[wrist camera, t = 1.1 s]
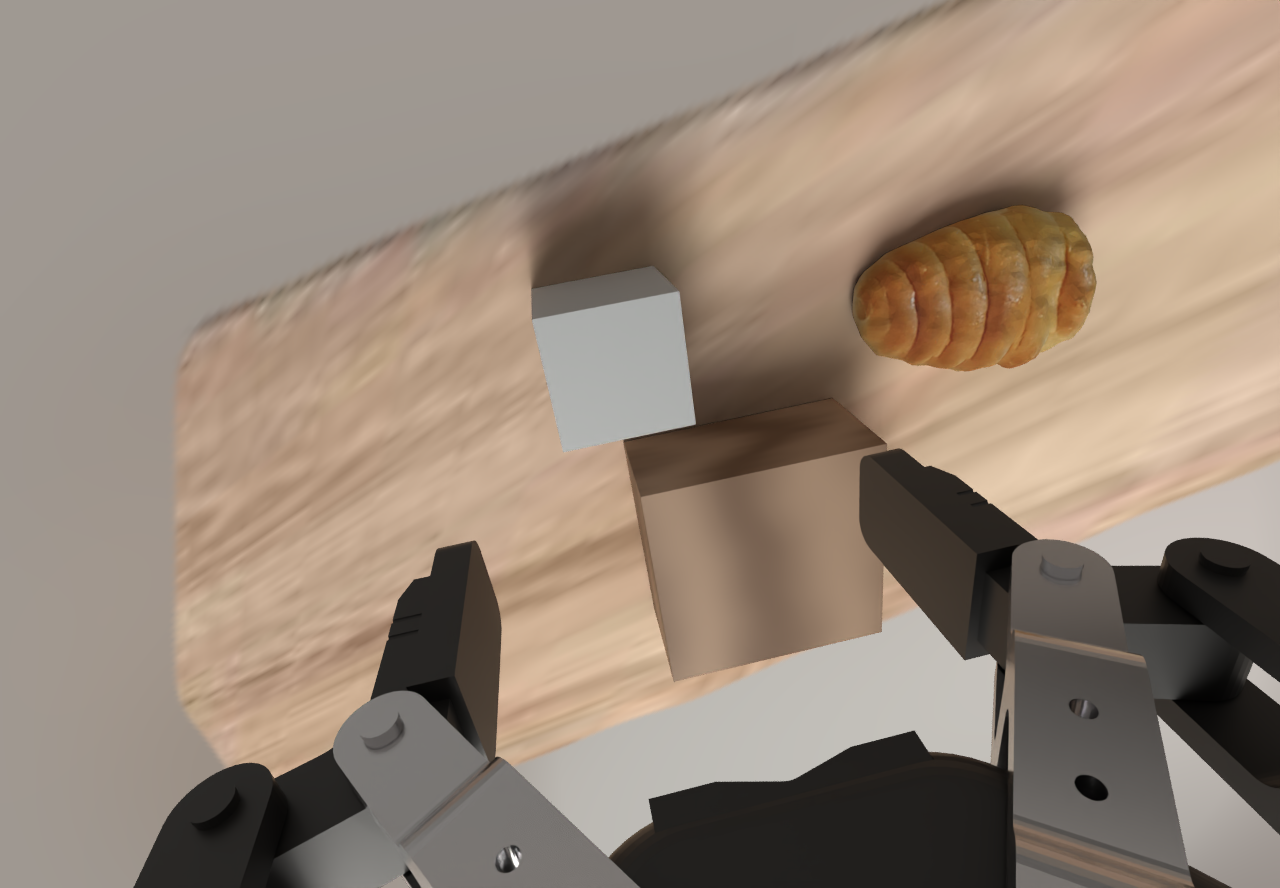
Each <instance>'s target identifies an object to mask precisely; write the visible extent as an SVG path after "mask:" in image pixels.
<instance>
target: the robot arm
mask: <svg viewBox="0 0 1280 888" xmlns="http://www.w3.org/2000/svg"><path fill="white" fill-rule="evenodd" d="M859 522H860V528H861V532H862V535H863V537H864V540H865V542H866V544H867V545H868V547H869V548H870V549H871V550H872V552H873V553H874V554H875V555H876V556H877V558H878V559H879V560H880V561H881V562H882V563H883V565H884V566H885V567H886V568H887V569H888V571H889V572H890V573H891V574H892V575H893V576H894V578H895V579H896V580H897V581H898V582H899V583H900V585H901V586H902V587H903V588H904V589H905V591H906V592H907V593H908V594H909V595H910V596H911V598H912V599H913V600H914V601H915V602H916V604H917V605H918V606H919V607H920V608H921V609H922V611H923V612H924V613H925V614H926V615H927V616H928V618H929V619H930V620H931V621H932V622H933V624H934V625H935V626H936V627H937V628H938V629H939V631H940V632H941V633H942V634H943V635H944V637H945V638H946V639H947V640H948V641H949V642H950V644H951V645H952V646H953V647H954V648H955V649H956V651H957V652H958V653H959V654H960V655H961V657H962V658H963V659H964V660H968V659H971V658H976V657H980V656H983V655H987V654H990V655H991V656H992V657H993V658H994V659H995V660H996V661H997V663H996V669H995V676H994V699H993V722H992V744H991V763H986V762H983V761H980V760H977V759H973V758H970V757H965V756H960V755H955V754H948V753H939V752H928V750H927V749H926V748H925V746H924V744H923V743H922V742H921V740H920V739H919V737H918V735H917V734H916V732H915V731H911V732H907V733H903V734H899V735H896V736H892V737H888V738H884V739H880V740H876V741H872V742H868V743H864V744H861V745H857V746H853V747H850V748H848V749H847V750H845V751H843V752H841V753H840V754H838V755H836V756H834V757H833V758H831V759H829V760H827V761H826V762H824V763H822V764H821V765H819V766H817V767H815V768H813V769H812V770H810V771H808V772H807V773H805V774H803V775H801V776H800V777H798V778H796V779H794V780H791V781H784V782H783V781H782V782H714V783H709V784H705V785H702V786H698V787H694V788H690V789H686V790H682V791H678V792H675V793H671V794H667V795H663V796H659V797H656V798H651V799H649V803H650V809H651V814H652V820H653V822H652V823H651V824H649V825H647V826H646V827H644V828H642V829H641V830H639V831H638V832H636V833H635V834H634V835H632V836H631V837H630V838H628V839H627V840H626V841H625V842H624V843H623V844H622V845H621V846H620V847H618V848H617V849H616V850H615V851H614V852H613V853H612V854H611V855H610V857H609V858H608V857H607V856H606V855H605V854H604V853H603V852H602V851H601V850H600V849H599V848H598V847H597V846H596V845H594V844H593V843H592V842H591V841H590V840H589V839H588V838H587V837H586V836H585V835H584V834H583V833H582V832H581V831H580V830H579V829H577V827H576V826H575V825H573V824H572V823H571V822H570V821H569V820H568V819H567V818H566V817H565V816H564V815H563V814H562V813H561V812H560V811H559V810H557V808H556V807H555V806H553V805H552V804H551V803H550V802H549V801H548V800H547V799H546V798H545V797H544V796H543V795H542V794H541V793H540V792H539V791H538V790H537V789H536V788H535V787H533V786H532V785H531V784H530V783H529V782H528V781H527V780H526V779H525V778H524V777H523V776H522V775H521V774H520V773H519V772H518V771H517V770H516V769H515V768H514V767H512V766H511V765H510V764H509V763H508V762H507V761H505V760H504V759H502V758H501V757H496V758H495V753H496V733H497V713H498V693H499V672H500V652H501V618H500V612H499V607H498V603H497V599H496V596H495V593H494V590H493V587H492V584H491V581H490V578H489V575H488V572H487V569H486V566H485V563H484V560H483V557H482V554H481V551H480V548H479V546H478V544H477V542H476V541H470V542H466V543H461V544H456V545H452V546H447V547H443V548H438V549H437V550H436V553H435V557H434V562H433V566H432V571H431V575H430V576H428V577H424V578H419V579H415V580H413V582H412V583H411V584H410V586H409V587H408V588H407V589H406V591H405V592H404V593H403V594H402V596H401V597H400V598H399V599H398V603H397V606H396V610H395V614H394V617H393V624H391V628H390V632H389V635H388V637H389V640H388V641H387V642H386V646H385V650H384V653H383V657H382V660H381V664H380V668H379V671H378V675H377V678H376V682H375V686H374V689H373V693H372V696H371V700H370V701H369V702H367V703H366V704H364V705H362V706H361V707H360V708H359V709H357V710H356V711H355V712H354V713H353V714H352V715H351V716H350V717H349V718H348V719H347V720H346V721H345V723H344V724H343V725H342V727H341V728H340V730H339V731H338V734H337V736H336V738H335V741H334V745H333V748H332V749H330V750H329V751H327V752H326V753H324V754H322V755H320V756H318V757H316V758H314V759H312V760H310V761H308V762H306V763H304V764H302V765H301V766H299V767H297V768H295V769H293V770H291V771H289V772H287V773H285V774H283V775H281V776H279V777H277V778H275V779H274V777H273V776H272V774H271V773H270V771H269V770H268V769H267V768H266V767H265V766H263V765H260V764H257V763H243V764H239V765H234V766H232V767H229V768H226V769H224V770H222V771H220V772H218V773H216V774H214V775H212V776H210V777H209V778H207V779H206V780H204V781H203V782H201V783H200V784H199V785H197V786H196V787H195V788H194V789H192V790H191V791H190V792H189V793H188V794H187V795H186V796H185V797H184V798H183V799H182V800H181V801H180V802H179V803H178V804H177V805H176V807H175V808H174V809H173V810H172V812H171V813H170V814H169V816H168V817H167V819H166V821H165V823H164V825H163V826H162V829H161V831H160V833H159V835H158V837H157V839H156V841H155V843H154V845H153V848H152V850H151V852H150V854H149V856H148V858H147V860H146V862H145V865H144V867H143V869H142V871H141V873H140V875H139V877H138V879H137V881H136V884H135V886H134V888H381V887H382V886H384V885H386V884H387V883H389V882H391V881H392V880H394V879H396V878H397V877H399V876H401V877H402V878H403V879H404V881H405V882H406V884H407V885H408V887H409V888H1231V887H1229V886H1227V885H1225V884H1224V883H1222V882H1220V881H1218V880H1216V879H1214V878H1212V877H1210V876H1208V875H1206V874H1204V873H1202V872H1201V871H1199V870H1197V869H1195V868H1193V867H1191V866H1189V865H1188V863H1187V858H1186V853H1185V848H1184V843H1183V839H1182V834H1181V829H1180V824H1179V819H1178V814H1177V809H1176V805H1175V800H1174V795H1173V791H1172V785H1171V780H1170V776H1169V771H1168V766H1167V761H1166V756H1165V752H1164V746H1163V742H1162V737H1161V732H1160V727H1159V722H1158V717H1157V715H1158V716H1159V717H1160V718H1161V719H1162V720H1163V721H1164V722H1165V723H1166V724H1167V725H1168V726H1169V727H1170V728H1171V729H1172V730H1174V731H1175V732H1176V733H1177V734H1178V735H1179V736H1180V737H1181V738H1182V739H1183V740H1184V741H1185V742H1186V743H1187V744H1188V745H1189V746H1190V747H1191V748H1192V749H1193V750H1194V751H1195V752H1196V753H1197V754H1198V755H1199V756H1200V757H1201V758H1202V759H1203V760H1204V761H1205V762H1206V763H1207V764H1208V765H1209V766H1210V767H1211V768H1212V769H1213V770H1214V771H1215V772H1216V773H1217V774H1218V775H1219V776H1220V777H1221V778H1222V779H1223V780H1224V781H1226V783H1227V784H1229V785H1230V787H1232V788H1233V789H1234V790H1235V791H1236V792H1237V793H1238V794H1239V795H1240V796H1241V797H1242V798H1243V799H1244V800H1245V801H1246V802H1247V803H1248V804H1249V805H1250V806H1251V807H1252V808H1253V809H1254V810H1255V811H1256V812H1257V813H1258V814H1259V815H1260V816H1261V817H1262V818H1263V819H1264V820H1265V821H1266V822H1267V823H1268V824H1269V825H1270V826H1271V827H1272V828H1273V829H1274V830H1275V831H1276V832H1277V833H1279V835H1280V705H1279V704H1278V703H1277V702H1275V701H1274V700H1273V699H1272V698H1270V697H1269V696H1268V695H1267V694H1265V693H1264V692H1263V691H1262V690H1260V689H1259V688H1258V687H1257V686H1255V685H1254V684H1253V683H1251V682H1250V681H1249V680H1248V679H1247V676H1248V674H1249V672H1250V669H1251V667H1252V664H1253V662H1254V663H1255V664H1257V665H1258V666H1260V668H1262V669H1263V670H1264V671H1266V672H1267V673H1268V674H1270V675H1271V676H1272V677H1273V678H1275V679H1276V680H1277V681H1279V682H1280V565H1279V564H1277V563H1276V562H1274V561H1272V560H1271V559H1269V558H1267V557H1266V556H1264V555H1262V554H1260V553H1258V552H1256V551H1254V550H1252V549H1249V548H1247V547H1244V546H1241V545H1238V544H1235V543H1231V542H1227V541H1223V540H1217V539H1210V538H1187V539H1181V540H1177V541H1175V542H1173V543H1171V544H1170V545H1168V546H1167V548H1166V550H1165V553H1164V557H1163V560H1162V563H1161V566H1111V565H1110V564H1109V563H1108V562H1107V561H1106V560H1105V559H1104V558H1103V557H1101V556H1100V555H1099V554H1097V553H1095V552H1094V551H1092V550H1090V549H1088V548H1085V547H1083V546H1080V545H1077V544H1074V543H1070V542H1066V541H1060V540H1047V539H1043V540H1038V539H1036V538H1035V537H1034V536H1033V535H1031V534H1030V533H1029V532H1027V531H1026V530H1025V529H1024V528H1022V527H1021V526H1020V525H1018V524H1017V523H1016V522H1014V521H1013V520H1012V519H1011V518H1009V517H1008V516H1007V515H1005V514H1004V513H1003V512H1002V511H1000V510H999V509H998V508H996V507H995V506H994V505H993V504H991V503H990V504H988V502H987V500H986V499H985V498H983V497H982V496H981V495H980V494H978V493H977V492H973V489H972V488H971V487H969V486H968V485H967V484H965V483H964V482H963V481H962V480H960V479H959V478H958V477H956V476H955V475H952V474H950V473H947V472H945V471H942V470H940V469H937V468H935V467H932V466H927V467H924V466H922V465H921V464H920V463H919V462H917V461H916V460H915V459H914V458H913V457H911V456H910V455H909V454H908V453H906V452H905V451H904V450H902V449H894V450H889V451H885V452H880V453H876V454H871V455H866V456H864V457H863V458H862V459H861V462H860V477H859Z"/></svg>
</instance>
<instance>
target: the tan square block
mask: <svg viewBox="0 0 1280 888" xmlns="http://www.w3.org/2000/svg"><path fill="white" fill-rule="evenodd" d="M624 448H625V453H626V458H627V464H628V469H629V474H630V480H631V485H632V491H633V496H634V501H635V507H636V512H637V518H638V523H639V528H640V534H641V539H642V544H643V550H644V555H645V561H646V566H647V571H648V577H649V582H650V588H651V593H652V598H653V604H654V609H655V613H656V617H657V620H658V624H659V628H660V632H661V635H662V639H663V643H664V647H665V650H666V654H667V658H668V662H669V665H670V669H671V673H672V677H673V680H674V682H675V681H679V680H683V679H687V678H691V677H696V676H700V675H704V674H708V673H712V672H716V671H721V670H725V669H729V668H733V667H737V666H741V665H746V664H750V663H754V662H758V661H762V660H766V659H771V658H775V657H779V656H783V655H787V654H792V653H796V652H800V651H804V650H808V649H812V648H817V647H821V646H825V645H829V644H833V643H837V642H842V641H846V640H850V639H854V638H858V637H862V636H867V635H871V634H875V633H879V632H882V599H883V563H882V562H881V561H880V560H879V559H878V558H877V556H876V555H875V554H874V553H873V552H872V550H871V549H870V548H869V547H868V545H867V544H866V542H865V540H864V537H863V535H862V532H861V528H860V522H859V477H860V462H861V459H862V458H863V457H864V456H866V455H871V454H876V453H880V452H885V451H887V443H885V442H884V441H883V440H882V439H881V438H880V437H878V436H877V435H876V434H875V433H874V432H872V431H871V430H870V429H869V428H868V427H866V426H865V425H864V424H863V423H862V422H860V421H859V420H858V419H857V418H856V417H855V416H853V415H852V414H851V413H850V412H849V411H847V410H846V409H845V408H844V407H843V406H841V405H840V404H839V403H838V402H837V401H836V400H834V399H833V398H831V399H826V400H821V401H817V402H812V403H807V404H802V405H797V406H793V407H788V408H783V409H778V410H774V411H769V412H764V413H759V414H755V415H750V416H745V417H740V418H735V419H731V420H726V421H721V422H716V423H712V424H707V425H702V426H697V427H693V428H688V429H683V430H678V431H674V432H669V433H664V434H659V435H654V436H650V437H645V438H640V439H635V440H631V441H626V442H624Z"/></svg>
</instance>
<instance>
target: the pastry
mask: <svg viewBox="0 0 1280 888" xmlns="http://www.w3.org/2000/svg"><path fill="white" fill-rule="evenodd" d="M1092 263H1093V253H1092V249H1091V246H1090V244H1089V242H1088V240H1087V238H1086V236H1085V235H1084V234H1083V232H1082V231H1081V230H1080V229H1079V227H1078V225H1077V224H1076V223H1075V222H1074V220H1073V219H1072V218H1071V217H1070V216H1068V215H1066V214H1064V213H1060V212H1046V211H1041V210H1039V209H1036V208H1033V207H1029V206H1024V205H1016V206H1011V207H1008V208H1004V209H1000V210H996V211H991V212H987V213H982V214H980V215H977V216H975V217H973V218H969V219H965V220H962V221H960V222H957V223H954V224H951V225H948V226H945V227H943V228H941V229H939V230H937V231H934V232H932V233H929V234H927V235H925V236H923V237H921V238H919V239H917V240H914V241H912V242H910V243H908V244H905V245H903V246H901V247H898V248H896V249H894V250H892V251H890V252H888V253H886V254H885V255H883V256H882V257H881V258H880V259H879V260H878V261H877V262H876V263H874V264H873V265H872V266H871V267H869V268H868V269H867V270H865V271H864V272H863V274H862V275H861V276H860V278H859V280H858V282H857V284H856V285H855V288H854V295H853V305H852V312H853V318H854V320H855V323H856V325H857V327H858V330H859V333H860V336H861V337H862V339H863V340H864V341H865V342H866V344H867V345H868V346H869V347H870V348H871V349H872V351H873V352H874V353H875V354H876V355H878V356H884V357H889V358H895V359H899V360H903V361H905V362H907V363H909V364H911V365H917V366H919V365H928V366H933V367H937V368H945V369H952V370H955V371H972V370H976V369H979V368H983V367H990V366H993V365H995V364H998V365H1000V366H1002V367H1004V368H1013V367H1017V366H1020V365H1023V364H1025V363H1027V362H1029V361H1030V360H1032V359H1034V358H1036V356H1037V355H1038V354H1039V353H1040V352H1044V351H1046V350H1048V349H1050V348H1052V347H1054V346H1055V345H1057V344H1058V343H1060V342H1062V341H1065V340H1069V339H1071V338H1073V337H1074V336H1075V334H1076V333H1077V332H1078V331H1079V330H1080V329H1081V328H1082V326H1083V324H1084V322H1085V320H1086V318H1087V316H1088V314H1089V312H1090V307H1091V304H1092V300H1093V297H1094V293H1095V288H1096V277H1095V273H1094V270H1093V266H1092Z"/></svg>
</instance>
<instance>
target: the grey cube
mask: <svg viewBox="0 0 1280 888" xmlns="http://www.w3.org/2000/svg"><path fill="white" fill-rule="evenodd" d="M531 293H532V322H533V326H534V331H535V335H536V339H537V343H538V347H539V352H540V356H541V360H542V364H543V369H544V373H545V377H546V381H547V385H548V390H549V394H550V398H551V402H552V407H553V411H554V415H555V419H556V423H557V428H558V432H559V436H560V440H561V445H562V449H563V452H567V451H572V450H576V449H581V448H586V447H591V446H596V445H600V444H605V443H610V442H615V441H619V440H624V439H629V438H634V437H638V436H643V435H648V434H653V433H657V432H662V431H667V430H672V429H676V428H681V427H686V426H691V425H695V424H696V422H695V414H694V406H693V398H692V390H691V382H690V374H689V366H688V358H687V350H686V342H685V334H684V326H683V318H682V310H681V302H680V294H679V290H678V289H677V288H675V287H674V286H673V285H672V284H671V283H670V282H669V281H668V280H667V279H666V278H665V277H664V276H663V275H662V274H661V273H660V272H659V271H658V270H657V269H656V268H655V267H654V266H649V267H644V268H639V269H634V270H628V271H623V272H618V273H612V274H607V275H602V276H597V277H591V278H586V279H581V280H576V281H570V282H565V283H560V284H554V285H549V286H544V287H539V288H533V289H531Z"/></svg>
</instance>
